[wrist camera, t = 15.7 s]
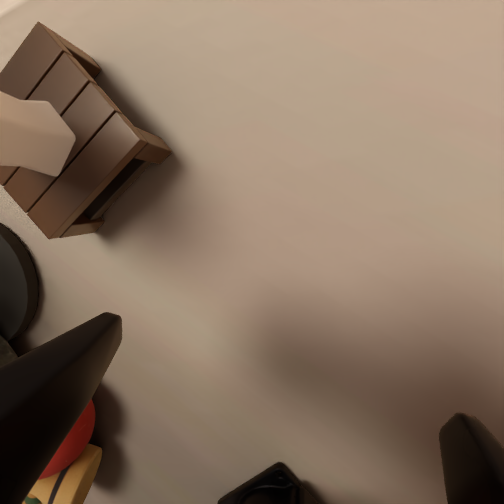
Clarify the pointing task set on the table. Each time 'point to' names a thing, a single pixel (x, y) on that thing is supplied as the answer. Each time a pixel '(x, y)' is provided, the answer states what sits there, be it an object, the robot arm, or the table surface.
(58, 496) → the kendama
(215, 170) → the table surface
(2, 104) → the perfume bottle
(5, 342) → the rock
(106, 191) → the stool
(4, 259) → the figurine
